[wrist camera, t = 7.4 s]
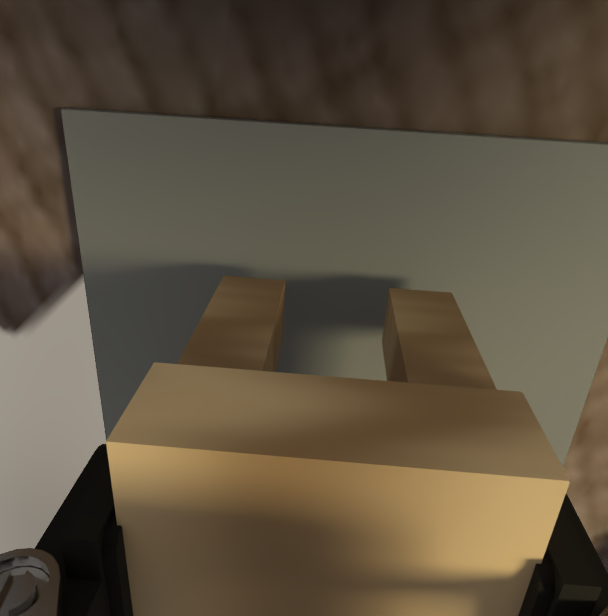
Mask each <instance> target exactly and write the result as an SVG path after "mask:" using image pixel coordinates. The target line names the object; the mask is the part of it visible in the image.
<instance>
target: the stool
mask: <svg viewBox="0 0 608 616" xmlns="http://www.w3.org/2000/svg"><path fill="white" fill-rule="evenodd" d="M284 299H285V280H275V279H262V278H248V277H235V276H223V278H222V280H221V282H220V284H219V285H218V287H217V289H216V291H215V293H214V295H213V297H212V299H211V300H210V302H209V304H208V306H207V308H206V310H205V312H204V314H203V315H202V317H201V319H200V321H199V323H198V325H197V327H196V329H195V330H194V332H193V334H192V336H191V338H190V340H189V342H188V344H187V345H186V347H185V349H184V351H183V353H182V355H181V357H180V359H179V360H178V362H177V364H169V363H157V362H154V363H153V365H152V367H151V368H150V370H149V372H148V373H147V375H146V377H145V378H144V380H143V381H142V383H141V385H140V386H139V388H138V390H137V391H136V393H135V395H134V396H133V398H132V400H131V401H130V403H129V404H128V406H127V408H126V409H125V411H124V413H123V414H122V416H121V418H120V419H119V421H118V422H117V424H116V426H115V427H114V429H113V431H112V432H111V434H110V436H109V437H108V439H107V441H106V446H107V453H108V461H109V468H110V476H111V483H112V491H113V498H114V506H115V513H116V521H117V525H120V526H122V531H123V538H124V546H125V554H126V562H127V570H128V577H129V585H130V593H131V601H132V609H133V616H518V615H519V612H520V609H521V606H522V603H523V600H524V597H525V594H526V592H527V589H528V586H529V583H530V580H531V577H532V574H533V571H534V568H535V566H536V563H538V564H541V563H542V560H543V557H544V554H545V551H546V549H547V546H548V543H549V540H550V537H551V534H552V531H553V529H554V526H555V523H556V520H557V517H558V514H559V512H560V509H561V506H562V503H563V500H564V497H565V495H566V492H567V489H568V486H569V483H570V480H569V478H568V476H567V474H566V472H565V471H564V469H563V467H562V465H561V463H560V461H559V459H558V458H557V456H556V454H555V452H554V450H553V448H552V446H551V444H550V443H549V441H548V439H547V437H546V435H545V433H544V431H543V430H542V428H541V426H540V424H539V422H538V420H537V418H536V416H535V415H534V413H533V411H532V409H531V407H530V405H529V403H528V402H527V400H526V398H525V396H524V394H523V392H519V391H507V390H497V389H496V387H495V384H494V382H493V380H492V378H491V376H490V374H489V372H488V369H487V367H486V365H485V363H484V361H483V359H482V356H481V354H480V352H479V350H478V348H477V346H476V344H475V341H474V339H473V337H472V335H471V333H470V331H469V328H468V326H467V324H466V322H465V320H464V318H463V316H462V313H461V311H460V309H459V307H458V305H457V303H456V300H455V298H454V296H453V294H452V293H451V292H437V291H424V290H410V289H397V288H389V291H388V299H387V306H386V314H385V321H384V329H383V337H382V348H383V355H384V363H385V370H386V377H387V381H382V380H369V379H357V378H344V377H332V376H319V375H307V374H294V373H282V372H275V371H276V366H277V361H278V356H279V352H280V347H281V342H282V337H283V323H284Z"/></svg>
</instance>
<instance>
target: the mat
mask: <svg viewBox="0 0 608 616" xmlns="http://www.w3.org/2000/svg"><path fill="white" fill-rule="evenodd" d="M61 114H62V122H63V129H64V136H65V144H66V151H67V158H68V165H69V173H70V180H71V187H72V194H73V202H74V209H75V216H76V223H77V231H78V238H79V245H80V252H81V260H82V267H83V274H84V281H85V289H86V296H87V303H88V310H89V318H90V325H91V332H92V339H93V346H94V354H95V361H96V368H97V376H98V382H99V390H100V397H101V404H102V412H103V419H104V425H105V426H104V427H105V434H106V441H107V439H108V437H109V436H110V434H111V432H112V431H113V429H114V427H115V426H116V424H117V422H118V421H119V419H120V418H121V416H122V414H123V413H124V411H125V409H126V408H127V406H128V404H129V403H130V401H131V400H132V398H133V396H134V395H135V393H136V391H137V390H138V388H139V386H140V385H141V383H142V381H143V380H144V378H145V377H146V375H147V373H148V372H149V370H150V368H151V367H152V365H153V363H154V362H157V363H169V364H177V362H178V360H179V359H180V357H181V355H182V353H183V351H184V349H185V347H186V345H187V344H188V342H189V340H190V338H191V336H192V334H193V332H194V330H195V329H196V327H197V325H198V323H199V321H200V319H201V317H202V315H203V314H204V312H205V310H206V308H207V306H208V304H209V302H210V300H211V299H212V297H213V295H214V293H215V291H216V289H217V287H218V285H219V284H220V282H221V280H222V278H223V276H235V277H248V278H262V279H275V280H285V299H284V323H283V337H282V342H281V347H280V352H279V356H278V361H277V366H276V371H275V372H282V373H294V374H307V375H319V376H332V377H344V378H357V379H369V380H382V381H387V377H386V370H385V363H384V355H383V348H382V337H383V329H384V321H385V314H386V306H387V299H388V291H389V288H397V289H410V290H424V291H437V292H451V293H452V294H453V296H454V298H455V300H456V303H457V305H458V307H459V309H460V311H461V313H462V316H463V318H464V320H465V322H466V324H467V326H468V328H469V331H470V333H471V335H472V337H473V339H474V341H475V344H476V346H477V348H478V350H479V352H480V354H481V356H482V359H483V361H484V363H485V365H486V367H487V369H488V372H489V374H490V376H491V378H492V380H493V382H494V384H495V387H496V389H497V390H507V391H519V392H523V394H524V396H525V398H526V400H527V402H528V403H529V405H530V407H531V409H532V411H533V413H534V415H535V416H536V418H537V420H538V422H539V424H540V426H541V428H542V430H543V431H544V433H545V435H546V437H547V439H548V441H549V443H550V444H551V446H552V448H553V450H554V452H555V454H556V456H557V458H558V459H559V461H560V463H561V465H562V467H563V465H564V462H565V459H566V456H567V453H568V450H569V447H570V444H571V442H572V439H573V436H574V433H575V430H576V427H577V424H578V421H579V418H580V415H581V413H582V410H583V407H584V404H585V401H586V398H587V395H588V392H589V389H590V386H591V384H592V381H593V378H594V375H595V372H596V369H597V366H598V363H599V360H600V357H601V355H602V352H603V349H604V346H605V343H606V340H607V337H608V143H607V142H592V141H576V140H561V139H546V138H530V137H515V136H499V135H484V134H468V133H453V132H438V131H422V130H407V129H391V128H376V127H361V126H345V125H330V124H314V123H299V122H284V121H268V120H253V119H237V118H222V117H207V116H191V115H176V114H160V113H145V112H129V111H114V110H99V109H83V108H64V109H61Z"/></svg>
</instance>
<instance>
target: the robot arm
mask: <svg viewBox="0 0 608 616" xmlns="http://www.w3.org/2000/svg"><path fill="white" fill-rule="evenodd" d="M0 616H133V609H132V601H131V593H130V585H129V577H128V570H127V562H126V554H125V546H124V538H123V531H122V526H120V525H117V521H116V513H115V506H114V498H113V491H112V483H111V476H110V468H109V461H108V453H107V446H106V444H102V445H101V446H99V447H98V448H97V449H96V451H95V452H94V454H93V455H92V457H91V459H90V460H89V462H88V464H87V465H86V467H85V468H84V470H83V472H82V473H81V475H80V476H79V478H78V479H77V481H76V483H75V484H74V486H73V488H72V489H71V491H70V493H69V494H68V496H67V497H66V499H65V500H64V502H63V504H62V505H61V507H60V509H59V510H58V512H57V513H56V515H55V516H54V518H53V520H52V521H51V523H50V525H49V526H48V528H47V529H46V531H45V533H44V534H43V536H42V538H41V539H40V541H39V542H38V544H37V546H36V547H35V549H33V548H27V549H16V550H13V551H9V552H6V553H3V554H0ZM518 616H608V574H607V572H606V570H605V568H604V566H603V564H602V562H601V560H600V558H599V556H598V554H597V552H596V550H595V548H594V546H593V544H592V542H591V540H590V538H589V537H588V535H587V533H586V531H585V529H584V527H583V525H582V523H581V521H580V519H579V517H578V515H577V513H576V511H575V509H574V507H573V505H572V503H571V501H570V499H569V498H568V496H567V494H566V495H565V497H564V500H563V503H562V506H561V509H560V512H559V514H558V517H557V520H556V523H555V526H554V529H553V531H552V534H551V537H550V540H549V543H548V546H547V549H546V551H545V554H544V557H543V560H542V563H541V564H538V563H536V566H535V568H534V571H533V574H532V577H531V580H530V583H529V586H528V589H527V592H526V594H525V597H524V600H523V603H522V606H521V609H520V612H519V615H518Z"/></svg>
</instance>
